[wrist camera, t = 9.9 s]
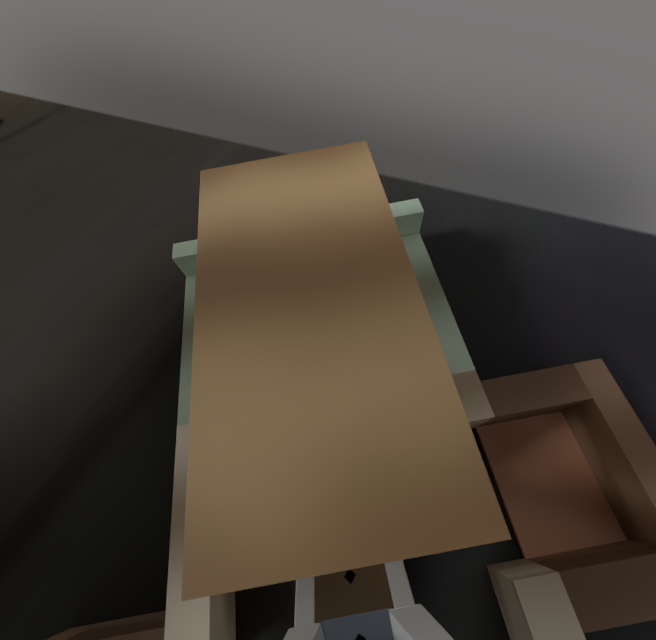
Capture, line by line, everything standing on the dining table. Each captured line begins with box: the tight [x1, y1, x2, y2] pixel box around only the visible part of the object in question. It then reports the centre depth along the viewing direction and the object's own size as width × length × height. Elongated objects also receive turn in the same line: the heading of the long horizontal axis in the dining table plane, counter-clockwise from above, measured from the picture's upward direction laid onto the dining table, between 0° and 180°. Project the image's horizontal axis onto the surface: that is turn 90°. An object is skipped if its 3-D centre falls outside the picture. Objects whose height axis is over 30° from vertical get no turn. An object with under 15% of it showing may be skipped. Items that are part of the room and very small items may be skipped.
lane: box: [46, 233, 656, 640], centre depth 12 cm, size 27×23×2 cm
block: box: [181, 141, 511, 601], centre depth 13 cm, size 12×6×9 cm, turn 9°
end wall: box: [172, 198, 424, 277], centre depth 18 cm, size 1×13×4 cm, turn 100°
